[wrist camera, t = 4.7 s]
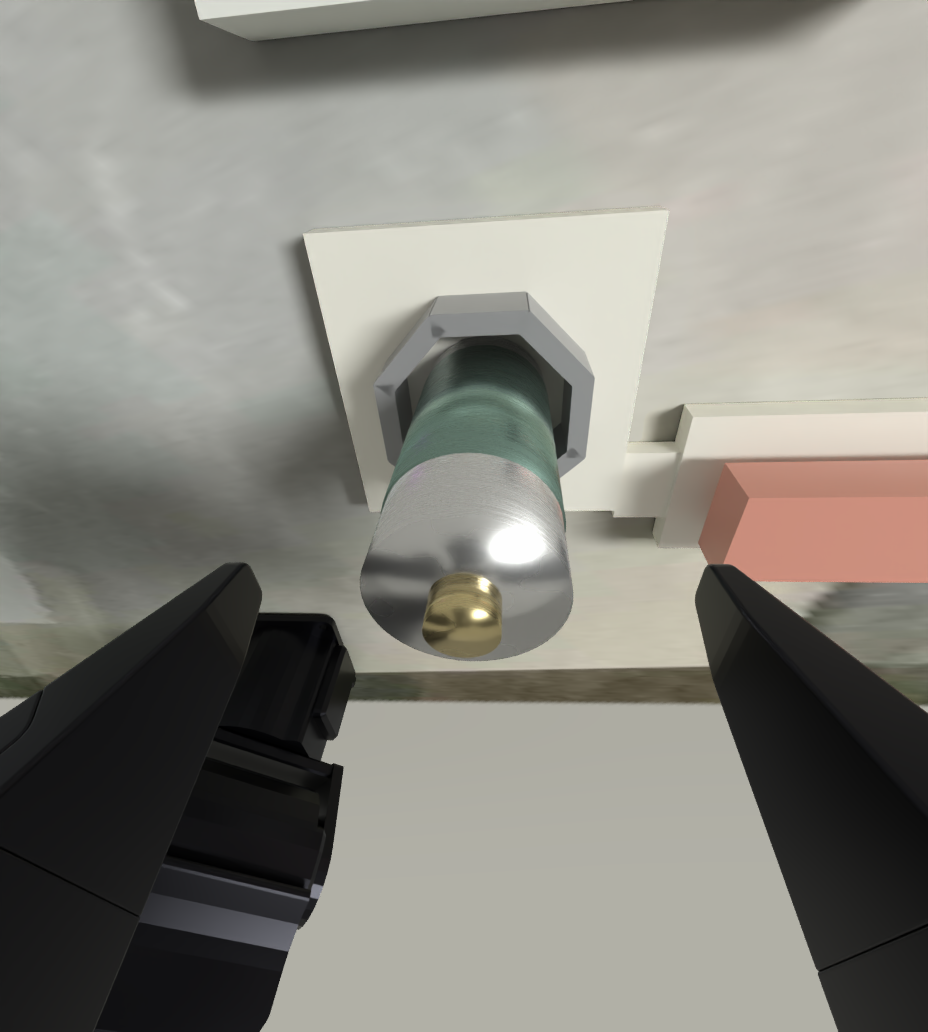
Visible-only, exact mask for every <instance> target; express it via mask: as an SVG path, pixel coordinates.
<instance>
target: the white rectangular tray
mask: <svg viewBox="0 0 928 1032" xmlns="http://www.w3.org/2000/svg"><path fill="white" fill-rule="evenodd" d="M622 1H631V0H194V2H195V5H196V9H197V12H198V16H199V19H200V20H201V21H204V22H206V23H209V24H211V25H213V26H216V27H218V28H221V29H223V30H226V31H228V32H230V33H233V34H235V35H238V36H240V37H243V38H245V39H247V40H250V41H260V40H270V39H279V38H288V37H297V36H307V35H316V34H325V33H334V32H344V31H353V30H362V29H371V28H381V27H390V26H399V25H409V24H418V23H427V22H436V21H446V20H455V19H464V18H473V17H483V16H492V15H501V14H510V13H520V12H529V11H538V10H547V9H557V8H566V7H575V6H585V5H594V4H603V3H612V2H622Z"/></svg>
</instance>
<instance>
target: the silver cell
mask: <svg viewBox="0 0 928 1032" xmlns="http://www.w3.org/2000/svg"><path fill="white" fill-rule="evenodd" d="M565 532H566V518H565V512H564V505H563V498H562V491H561V484H560V477H559V470H558V463H557V456H556V449H555V442H554V435H553V428H552V421H551V414H550V408H549V401H548V394H547V390H546V387H545V384H544V379H543V375H542V372H541V370H540V368H539V366H538V364H537V363H536V361H535V360H534V358H533V357H532V356H531V355H530V354H529V353H528V352H527V351H526V350H525V349H524V348H523V347H521V346H519V345H518V344H516V343H514V342H512V341H510V340H508V339H505V338H502V337H497V336H474V337H470V338H466V339H464V340H461V341H459V342H457V343H455V344H454V345H452V346H451V347H449V348H448V349H447V350H445V351H444V352H443V353H442V354H441V355H440V357H439V358H438V359H437V361H436V362H435V364H434V366H433V367H432V370H431V372H430V374H429V376H428V378H427V379H426V382H425V384H424V387H423V390H422V393H421V396H420V398H419V401H418V404H417V407H416V410H415V412H414V415H413V418H412V421H411V424H410V427H409V429H408V432H407V435H406V438H405V441H404V444H403V446H402V449H401V452H400V455H399V458H398V460H397V463H396V466H395V469H394V472H393V475H392V477H391V480H390V483H389V486H388V489H387V491H386V494H385V497H384V500H383V503H382V508H381V516H380V519H379V521H378V524H377V527H376V530H375V533H374V536H373V539H372V542H371V544H370V547H369V550H368V553H367V556H366V559H365V562H364V565H363V568H362V571H361V576H360V590H361V595H362V599H363V601H364V604H365V606H366V608H367V610H368V611H369V613H370V615H371V616H372V617H373V619H374V620H375V621H376V622H377V623H378V624H379V625H380V626H381V627H382V628H383V629H384V630H385V631H386V632H387V633H389V634H390V635H391V636H393V637H394V638H396V639H397V640H399V641H400V642H402V643H404V644H406V645H408V646H410V647H412V648H414V649H417V650H419V651H422V652H424V653H428V654H431V655H434V656H438V657H443V658H447V659H454V660H463V661H488V660H497V659H504V658H508V657H512V656H516V655H519V654H522V653H525V652H528V651H530V650H532V649H534V648H536V647H538V646H540V645H541V644H543V643H545V642H546V641H548V640H549V639H550V638H551V637H553V636H554V635H555V634H556V633H557V632H558V631H559V630H560V629H561V628H562V626H563V625H564V623H565V622H566V620H567V618H568V616H569V614H570V612H571V608H572V604H573V587H572V579H571V572H570V565H569V558H568V550H567V543H566V536H565Z"/></svg>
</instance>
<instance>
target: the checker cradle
mask: <svg viewBox="0 0 928 1032" xmlns="http://www.w3.org/2000/svg"><path fill="white" fill-rule="evenodd" d="M668 215H669V209H666V208H663V207H661V206H653V207H638V208H623V209H607V210H592V211H577V212H562V213H547V214H532V215H517V216H502V217H487V218H472V219H457V220H442V221H427V222H412V223H397V224H382V225H366V226H351V227H336V228H321V229H313V230H311V231H308V232H306V233H304V234H303V237H304V241H305V245H306V249H307V254H308V258H309V262H310V266H311V270H312V274H313V278H314V283H315V287H316V291H317V295H318V299H319V303H320V308H321V312H322V316H323V320H324V324H325V328H326V332H327V337H328V341H329V345H330V349H331V353H332V357H333V362H334V366H335V370H336V374H337V378H338V382H339V386H340V391H341V395H342V399H343V403H344V407H345V411H346V416H347V420H348V424H349V428H350V432H351V436H352V440H353V445H354V449H355V453H356V457H357V461H358V465H359V469H360V474H361V478H362V482H363V486H364V490H365V494H366V499H367V503H368V507H369V511H370V512H381V508H382V503H383V500H384V497H385V494H386V491H387V489H388V486H389V483H390V480H391V477H392V475H393V472H394V469H395V466H396V463H397V460H398V458H399V455H400V452H401V449H402V446H403V444H404V441H405V438H406V435H407V432H408V429H409V427H410V424H411V421H412V418H413V415H414V412H415V410H416V407H417V404H418V401H419V398H420V396H421V393H422V390H423V387H424V384H425V382H426V379H427V378H428V376H429V374H430V372H431V370H432V367H433V366H434V364H435V362H436V361H437V359H438V358H439V357H440V355H441V354H442V353H443V352H444V351H445V350H447V349H448V348H449V347H451V346H452V345H454V344H455V343H457V342H459V341H461V340H464V339H466V338H470V337H474V336H497V337H502V338H505V339H508V340H510V341H512V342H514V343H516V344H518V345H519V346H521V347H523V348H524V349H525V350H526V351H527V352H528V353H529V354H530V355H531V356H532V357H533V358H534V360H535V361H536V363H537V364H538V366H539V368H540V370H541V372H542V375H543V379H544V384H545V387H546V390H547V394H548V401H549V408H550V414H551V421H552V428H553V435H554V442H555V449H556V456H557V463H558V470H559V477H560V484H561V491H562V498H563V505H564V511H612V515H613V517H656V520H655V524H654V528H653V532H652V533H653V536H654V538H655V541H656V544H657V546H658V548H700V546H699V544H698V541H699V538H700V535H701V532H702V529H703V526H704V523H705V520H706V517H707V514H708V511H709V509H710V506H711V503H712V500H713V497H714V494H715V491H716V488H717V485H718V482H719V479H720V476H721V473H722V470H723V467H724V464H725V463H744V462H811V461H877V460H928V398H902V399H864V400H827V401H790V402H752V403H715V404H684V407H683V411H682V415H681V419H680V423H679V427H678V431H677V435H676V439H675V442H628V440H629V434H630V429H631V423H632V417H633V412H634V406H635V401H636V395H637V389H638V384H639V378H640V373H641V367H642V361H643V356H644V350H645V344H646V339H647V333H648V328H649V322H650V316H651V311H652V305H653V300H654V294H655V288H656V283H657V277H658V272H659V266H660V260H661V255H662V249H663V243H664V238H665V232H666V227H667V221H668Z"/></svg>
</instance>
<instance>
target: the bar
mask: <svg viewBox="0 0 928 1032" xmlns="http://www.w3.org/2000/svg"><path fill="white" fill-rule="evenodd" d="M698 544H699V546H700V548H701V550H702V552H703V554H704V556H705V558H706V560H707V562H708V565H709V564H731V565H733V566H735V567H736V568H738V569H739V570H740V571H742V572H743V573H744V574H745V575H747V576H748V577H749V578H751V579H752V580H753V581H785V582H906V583H928V460H877V461H811V462H744V463H725V464H724V467H723V470H722V473H721V476H720V479H719V482H718V485H717V488H716V491H715V494H714V497H713V500H712V503H711V506H710V509H709V511H708V514H707V517H706V520H705V523H704V526H703V529H702V532H701V535H700V538H699V541H698Z"/></svg>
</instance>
